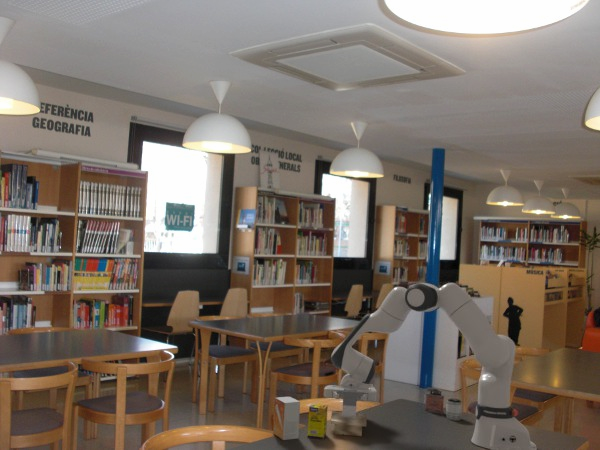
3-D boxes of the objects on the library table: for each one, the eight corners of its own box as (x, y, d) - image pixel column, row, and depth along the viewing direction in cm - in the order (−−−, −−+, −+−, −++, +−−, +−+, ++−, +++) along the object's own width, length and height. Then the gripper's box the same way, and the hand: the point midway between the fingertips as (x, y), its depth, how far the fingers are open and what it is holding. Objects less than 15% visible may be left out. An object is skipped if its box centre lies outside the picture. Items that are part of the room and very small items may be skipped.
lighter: (444, 412, 277) (445, 389, 278) (441, 414, 275) (442, 390, 275) (426, 409, 282) (427, 386, 282) (423, 410, 279) (424, 387, 279)
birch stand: (365, 427, 247) (366, 414, 247) (365, 437, 234) (366, 423, 234) (331, 425, 248) (332, 411, 248) (329, 434, 235) (330, 420, 235)
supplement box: (323, 439, 229) (325, 408, 229) (307, 437, 230) (308, 406, 230) (326, 435, 234) (328, 404, 235) (310, 433, 236) (311, 403, 236)
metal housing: (355, 416, 243) (357, 389, 244) (355, 419, 238) (357, 392, 239) (342, 415, 244) (343, 388, 244) (342, 418, 239) (343, 391, 239)
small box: (272, 433, 232) (274, 397, 233) (288, 432, 235) (290, 396, 236) (282, 440, 225) (284, 402, 226) (298, 438, 228) (300, 401, 229)
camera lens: (450, 415, 273) (451, 397, 273) (464, 419, 269) (464, 400, 269) (443, 418, 268) (444, 399, 268) (457, 421, 264) (457, 402, 264)
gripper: (324, 379, 255) (322, 387, 242) (376, 383, 253) (377, 391, 240) (323, 396, 255) (321, 404, 241) (375, 400, 253) (376, 408, 239)
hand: (349, 397), depth 240 cm, fingers open, 8 cm apart
